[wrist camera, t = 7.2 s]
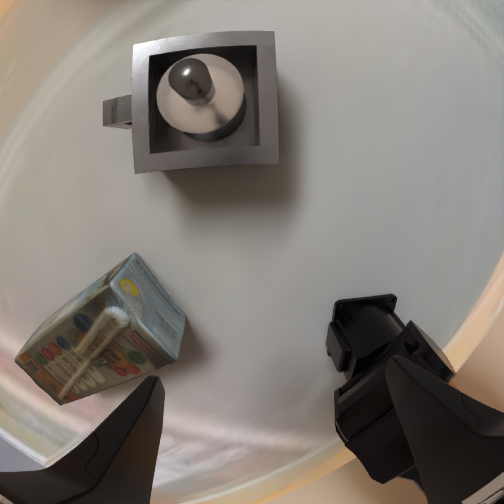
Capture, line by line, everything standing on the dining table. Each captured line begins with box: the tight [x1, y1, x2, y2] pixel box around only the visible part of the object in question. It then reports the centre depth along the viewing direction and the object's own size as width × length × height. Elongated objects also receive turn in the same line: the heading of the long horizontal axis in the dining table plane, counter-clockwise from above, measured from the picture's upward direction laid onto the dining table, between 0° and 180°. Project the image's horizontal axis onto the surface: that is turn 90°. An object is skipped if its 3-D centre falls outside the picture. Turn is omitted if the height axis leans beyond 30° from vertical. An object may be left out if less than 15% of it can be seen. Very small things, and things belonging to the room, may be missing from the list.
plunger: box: [157, 54, 247, 142], centre depth 13 cm, size 5×5×9 cm
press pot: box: [103, 31, 279, 174], centre depth 15 cm, size 10×8×5 cm
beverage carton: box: [15, 253, 186, 405], centre depth 21 cm, size 8×19×7 cm, turn 121°
